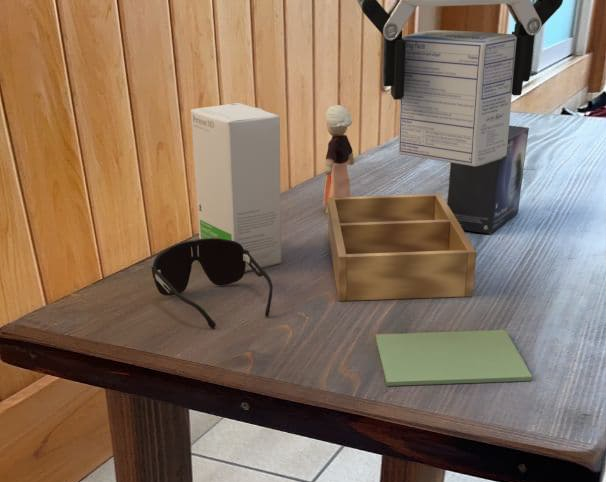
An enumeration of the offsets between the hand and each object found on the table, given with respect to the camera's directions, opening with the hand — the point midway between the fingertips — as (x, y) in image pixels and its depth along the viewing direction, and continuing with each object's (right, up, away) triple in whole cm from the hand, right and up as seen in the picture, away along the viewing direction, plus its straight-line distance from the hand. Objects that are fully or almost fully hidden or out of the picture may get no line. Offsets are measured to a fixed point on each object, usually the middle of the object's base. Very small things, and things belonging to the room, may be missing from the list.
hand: (454, 94), depth 67 cm
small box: (+11, +5, +41) cm, 43 cm away
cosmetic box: (-19, -3, +31) cm, 37 cm away
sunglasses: (-20, -11, +20) cm, 31 cm away
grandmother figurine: (-7, +9, +47) cm, 48 cm away
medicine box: (0, -4, +3) cm, 5 cm away
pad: (+1, -19, +8) cm, 21 cm away
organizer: (-2, -4, +29) cm, 29 cm away
